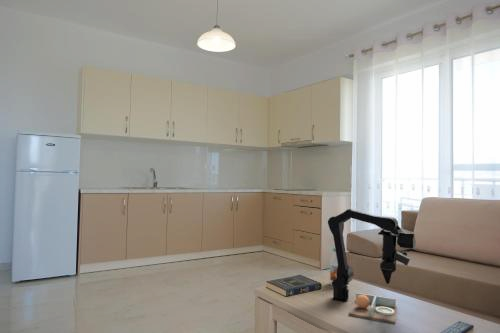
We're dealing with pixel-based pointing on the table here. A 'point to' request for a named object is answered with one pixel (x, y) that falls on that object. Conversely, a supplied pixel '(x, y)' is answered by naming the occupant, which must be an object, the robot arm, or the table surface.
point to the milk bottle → (333, 267)
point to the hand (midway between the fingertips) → (388, 280)
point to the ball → (362, 301)
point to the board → (376, 309)
